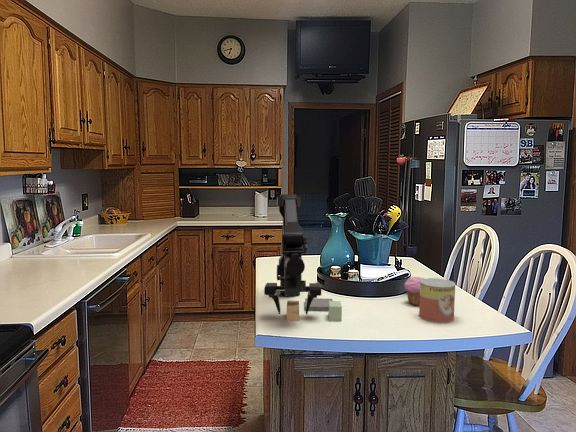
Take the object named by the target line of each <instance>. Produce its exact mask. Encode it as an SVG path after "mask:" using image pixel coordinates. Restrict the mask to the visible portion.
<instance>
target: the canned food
mask: <svg viewBox="0 0 576 432" xmlns="http://www.w3.org/2000/svg"><path fill="white" fill-rule="evenodd" d="M455 300H456V282H454V281H453V280H449V279H444V278H439V277H438V278H435V277H431V278H425V279H422V280H421V281H420V305H418V306H419V309H418V311H419V312H418V317H419V318H420V319H421V320H423V321H426V322H428V323H434V324H447V323H452V322H453V321H454V320H455Z"/></svg>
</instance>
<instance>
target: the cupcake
mask: <svg viewBox="0 0 576 432" xmlns="http://www.w3.org/2000/svg"><path fill="white" fill-rule="evenodd" d="M422 279H426V278H424V277H420V276H412V277H409V278H408V279H407V280H406V281H405V282H404V289H405V290H406V294H407V301H408V303H410V304H412V305H414V306H419V305H420V281H421V280H422Z"/></svg>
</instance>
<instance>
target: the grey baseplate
mask: <svg viewBox="0 0 576 432" xmlns="http://www.w3.org/2000/svg"><path fill="white" fill-rule="evenodd" d="M329 301H334V300H333V298H323V297H321V298H319V297H317V298H314V299H313V300H312V302H311V304H310V307H309V310H308V312H329ZM304 304H305V305H304V311H305V312H306V304H307V297H306V298H304Z"/></svg>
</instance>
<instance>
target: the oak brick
mask: <svg viewBox="0 0 576 432" xmlns="http://www.w3.org/2000/svg"><path fill="white" fill-rule="evenodd" d="M299 320H300V300H287V301H286V321H291V322H292V321H294V322H295V321H299Z"/></svg>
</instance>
